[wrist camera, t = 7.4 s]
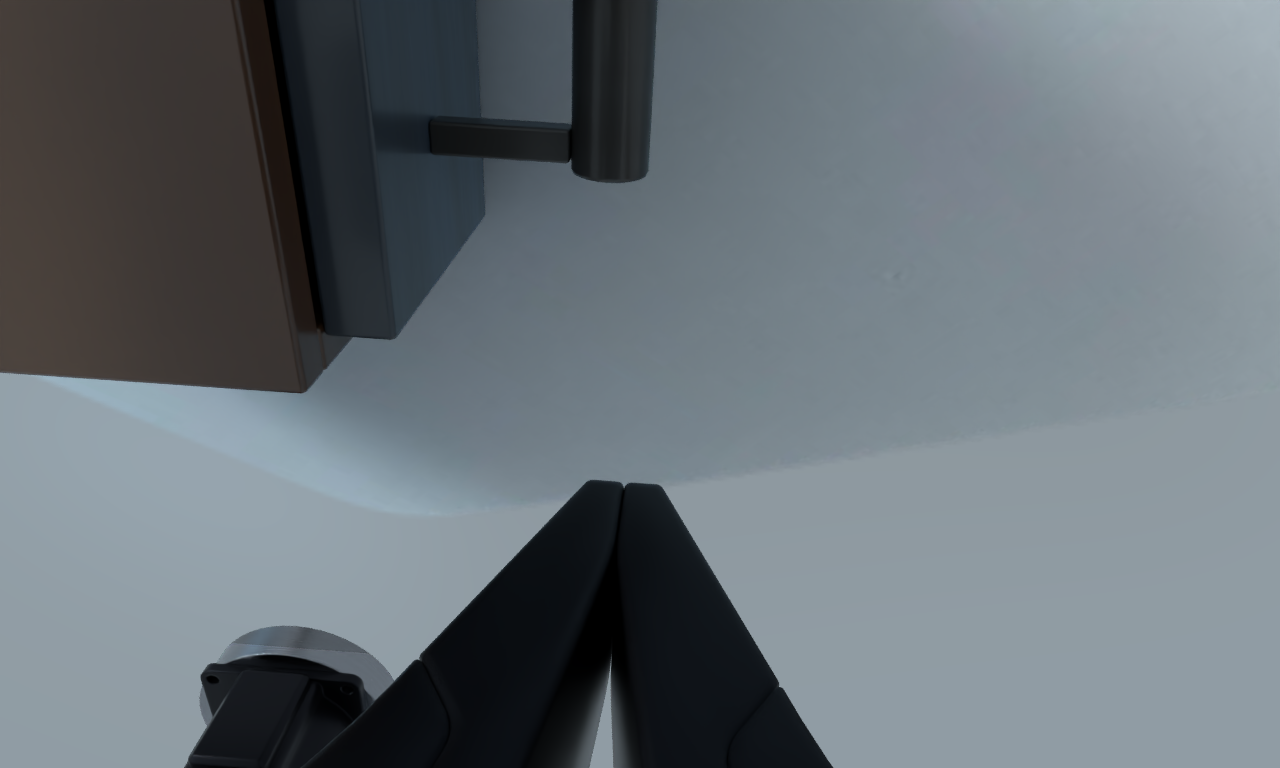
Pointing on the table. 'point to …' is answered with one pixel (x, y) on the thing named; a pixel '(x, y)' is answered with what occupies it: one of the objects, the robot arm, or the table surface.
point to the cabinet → (151, 199)
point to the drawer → (431, 136)
